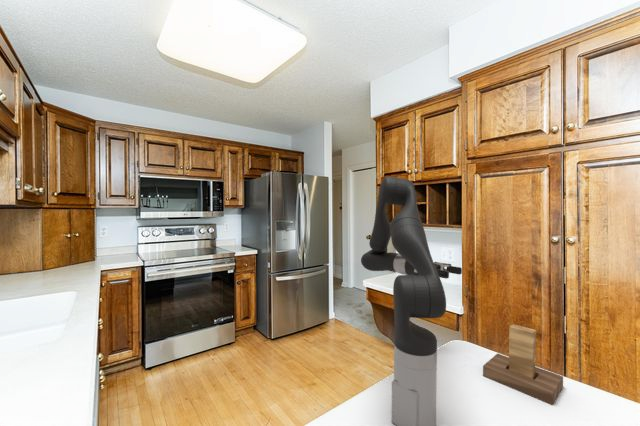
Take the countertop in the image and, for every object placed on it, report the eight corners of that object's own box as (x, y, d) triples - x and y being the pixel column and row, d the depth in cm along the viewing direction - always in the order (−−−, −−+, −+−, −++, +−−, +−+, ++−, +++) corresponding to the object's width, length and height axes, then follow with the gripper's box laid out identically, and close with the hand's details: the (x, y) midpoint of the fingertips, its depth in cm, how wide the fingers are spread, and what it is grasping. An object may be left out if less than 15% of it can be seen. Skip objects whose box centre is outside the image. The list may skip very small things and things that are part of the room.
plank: (532, 388, 78) (533, 333, 77) (508, 379, 82) (509, 326, 81) (535, 384, 80) (536, 330, 79) (512, 375, 84) (512, 323, 83)
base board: (552, 405, 71) (552, 393, 71) (482, 375, 83) (483, 365, 83) (563, 387, 78) (563, 376, 78) (497, 362, 90) (497, 353, 90)
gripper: (397, 256, 99) (444, 264, 86) (420, 252, 108) (465, 258, 95) (397, 278, 99) (443, 289, 86) (420, 272, 108) (465, 281, 95)
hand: (455, 273), depth 91 cm, fingers open, 8 cm apart
